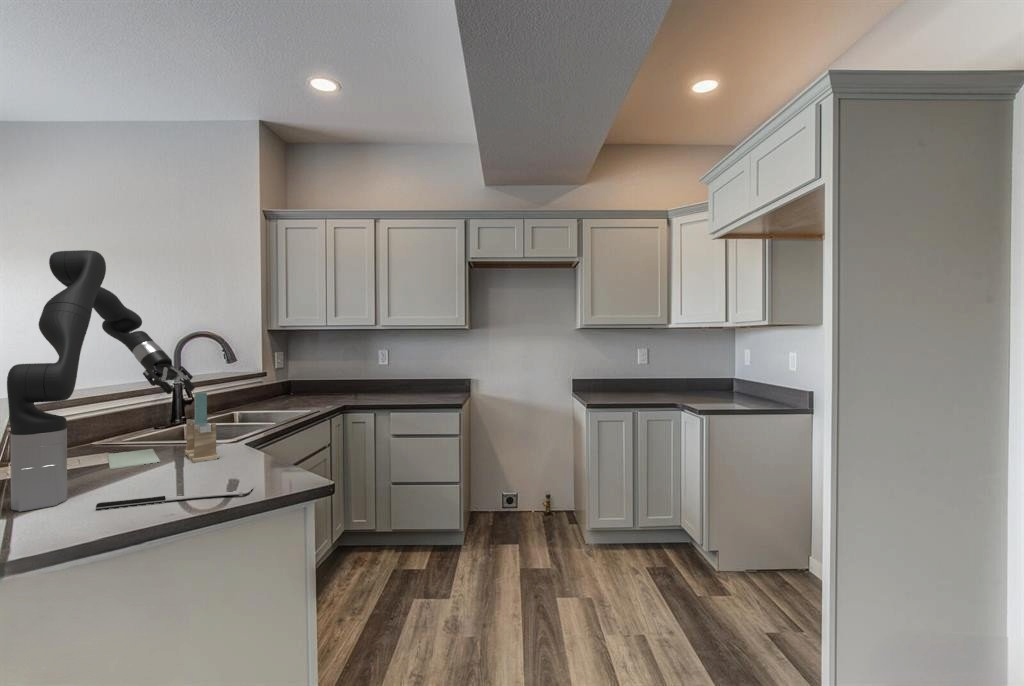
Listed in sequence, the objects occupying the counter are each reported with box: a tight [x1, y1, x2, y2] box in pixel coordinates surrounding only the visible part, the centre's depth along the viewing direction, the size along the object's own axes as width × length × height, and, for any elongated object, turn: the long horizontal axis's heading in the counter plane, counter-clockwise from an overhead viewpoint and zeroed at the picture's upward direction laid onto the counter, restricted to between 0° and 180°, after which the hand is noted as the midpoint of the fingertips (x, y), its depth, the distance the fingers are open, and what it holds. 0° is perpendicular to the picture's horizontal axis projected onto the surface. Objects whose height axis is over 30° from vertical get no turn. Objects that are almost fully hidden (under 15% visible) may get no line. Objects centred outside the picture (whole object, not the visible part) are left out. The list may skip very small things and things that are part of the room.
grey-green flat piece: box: [190, 391, 211, 433], centre depth 153 cm, size 18×3×12 cm, turn 43°
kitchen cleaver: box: [95, 490, 252, 511], centre depth 111 cm, size 31×2×10 cm
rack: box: [183, 418, 220, 464], centre depth 153 cm, size 19×7×12 cm, turn 43°
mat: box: [107, 448, 161, 471], centre depth 149 cm, size 24×12×1 cm, turn 43°
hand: (182, 390), depth 154 cm, fingers open, 8 cm apart
